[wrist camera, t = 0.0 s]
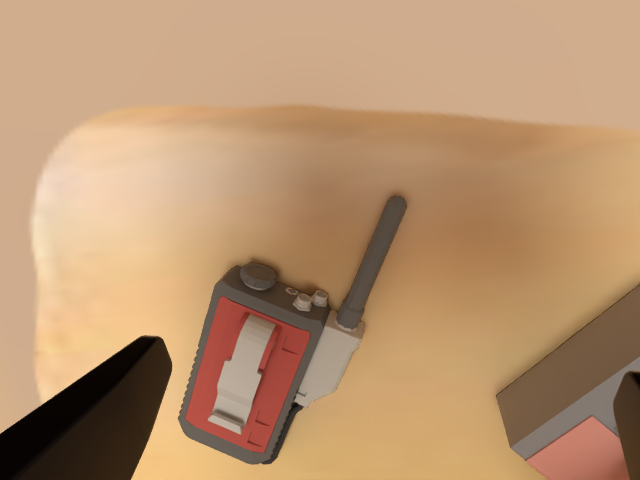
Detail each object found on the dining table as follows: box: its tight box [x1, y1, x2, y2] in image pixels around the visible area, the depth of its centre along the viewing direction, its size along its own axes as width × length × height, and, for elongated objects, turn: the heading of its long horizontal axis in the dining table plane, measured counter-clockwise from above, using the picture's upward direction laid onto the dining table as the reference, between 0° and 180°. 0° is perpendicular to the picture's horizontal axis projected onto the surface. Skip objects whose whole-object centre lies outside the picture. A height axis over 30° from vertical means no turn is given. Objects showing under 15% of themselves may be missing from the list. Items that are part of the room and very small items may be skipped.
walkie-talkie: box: [178, 196, 407, 464], centre depth 26 cm, size 9×4×20 cm
